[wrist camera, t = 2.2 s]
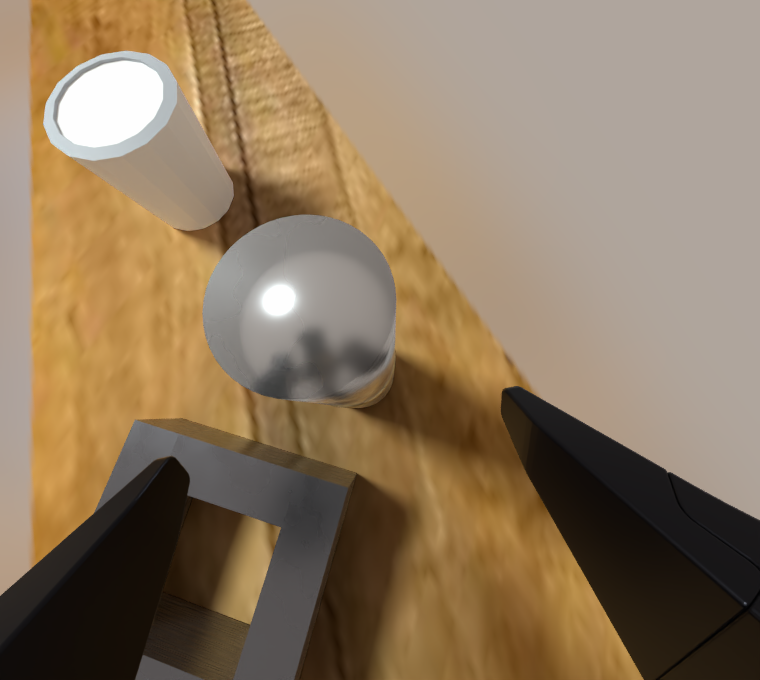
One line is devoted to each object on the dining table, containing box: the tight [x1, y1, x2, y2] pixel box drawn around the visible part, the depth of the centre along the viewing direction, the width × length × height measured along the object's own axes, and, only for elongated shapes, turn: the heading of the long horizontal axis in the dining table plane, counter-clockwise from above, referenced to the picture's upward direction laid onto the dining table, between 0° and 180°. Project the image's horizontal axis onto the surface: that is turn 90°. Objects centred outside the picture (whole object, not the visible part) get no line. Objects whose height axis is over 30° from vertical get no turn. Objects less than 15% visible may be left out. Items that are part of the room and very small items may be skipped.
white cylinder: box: [43, 51, 234, 231], centre depth 19 cm, size 7×7×7 cm
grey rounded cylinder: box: [203, 215, 396, 408], centre depth 13 cm, size 4×4×12 cm
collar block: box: [94, 418, 357, 680], centre depth 15 cm, size 11×11×4 cm
